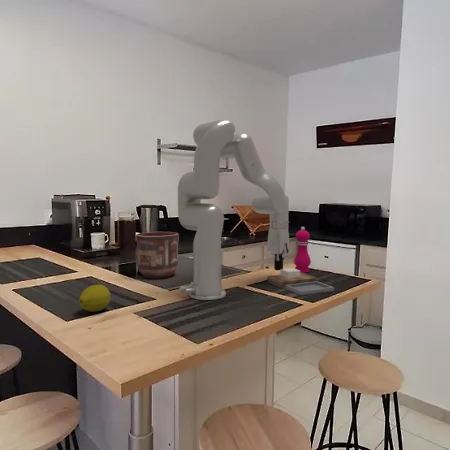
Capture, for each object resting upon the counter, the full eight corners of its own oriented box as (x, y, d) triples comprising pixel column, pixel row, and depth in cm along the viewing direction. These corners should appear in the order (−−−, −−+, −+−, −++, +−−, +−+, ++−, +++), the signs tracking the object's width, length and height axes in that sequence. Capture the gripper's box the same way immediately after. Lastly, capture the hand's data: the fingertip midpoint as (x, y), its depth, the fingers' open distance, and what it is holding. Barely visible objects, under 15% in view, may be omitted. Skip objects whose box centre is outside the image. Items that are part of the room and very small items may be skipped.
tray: (301, 295, 129) (301, 291, 129) (285, 289, 138) (285, 284, 138) (334, 291, 135) (334, 287, 134) (316, 284, 144) (316, 281, 144)
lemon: (102, 304, 120) (101, 280, 119) (118, 309, 116) (117, 283, 115) (71, 313, 111) (70, 287, 111) (86, 319, 107) (85, 291, 106)
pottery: (175, 280, 151) (175, 236, 150) (132, 280, 152) (131, 236, 150) (181, 271, 169) (181, 231, 168) (142, 271, 169) (142, 231, 168)
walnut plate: (281, 288, 139) (281, 281, 138) (267, 282, 148) (267, 276, 147) (317, 284, 145) (317, 277, 145) (301, 278, 154) (301, 272, 154)
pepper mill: (291, 272, 166) (292, 227, 164) (296, 269, 172) (297, 225, 170) (308, 273, 163) (308, 227, 161) (312, 270, 169) (313, 226, 167)
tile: (288, 278, 144) (288, 271, 144) (280, 275, 149) (280, 269, 149) (300, 277, 146) (300, 270, 146) (292, 274, 151) (292, 268, 151)
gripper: (261, 224, 159) (261, 267, 161) (281, 227, 145) (280, 274, 147) (277, 223, 162) (276, 265, 164) (297, 226, 148) (296, 272, 150)
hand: (278, 269), depth 155 cm, fingers closed
